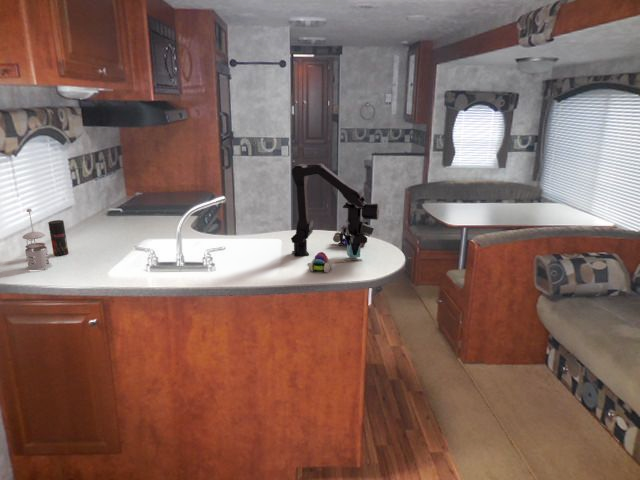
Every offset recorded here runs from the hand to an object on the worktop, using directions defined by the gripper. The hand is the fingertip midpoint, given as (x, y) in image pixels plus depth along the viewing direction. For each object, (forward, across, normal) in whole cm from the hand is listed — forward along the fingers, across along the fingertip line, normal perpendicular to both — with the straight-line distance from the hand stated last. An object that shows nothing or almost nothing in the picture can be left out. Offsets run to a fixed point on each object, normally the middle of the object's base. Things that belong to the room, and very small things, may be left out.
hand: (353, 253), depth 215 cm
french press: (+3, +21, +130) cm, 132 cm away
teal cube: (+1, 0, 0) cm, 1 cm away
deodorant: (+3, +37, +125) cm, 131 cm away
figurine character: (+3, +18, -4) cm, 19 cm away
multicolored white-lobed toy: (+3, -11, +17) cm, 20 cm away
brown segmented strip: (+2, -4, +9) cm, 10 cm away
